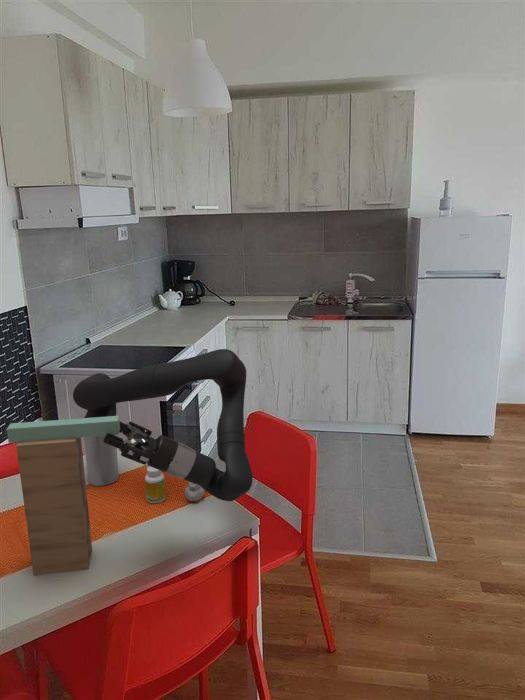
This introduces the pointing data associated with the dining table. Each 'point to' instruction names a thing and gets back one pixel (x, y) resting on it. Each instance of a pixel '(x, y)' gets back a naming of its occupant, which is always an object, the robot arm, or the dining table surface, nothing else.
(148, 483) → the supplement bottle
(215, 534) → the dining table surface
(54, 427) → the rod
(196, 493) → the grey rounded piece
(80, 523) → the stand
